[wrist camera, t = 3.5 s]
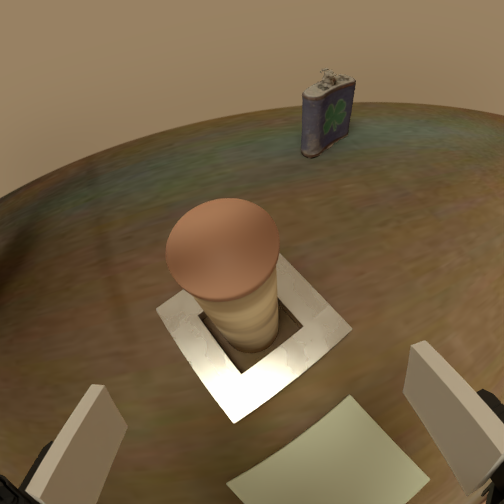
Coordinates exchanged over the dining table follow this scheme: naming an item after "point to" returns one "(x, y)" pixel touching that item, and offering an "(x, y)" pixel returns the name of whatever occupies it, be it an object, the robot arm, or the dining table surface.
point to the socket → (274, 364)
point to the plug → (230, 268)
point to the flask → (326, 112)
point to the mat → (334, 465)
